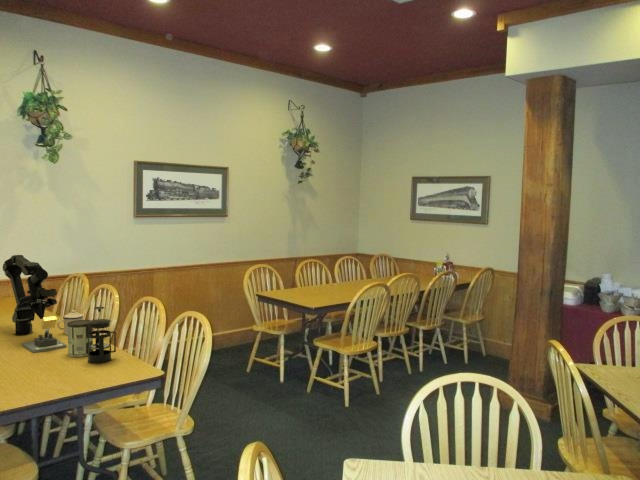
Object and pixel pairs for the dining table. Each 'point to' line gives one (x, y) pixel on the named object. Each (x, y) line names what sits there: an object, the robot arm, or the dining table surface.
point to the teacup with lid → (69, 320)
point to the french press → (100, 341)
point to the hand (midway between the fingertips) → (42, 318)
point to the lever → (48, 324)
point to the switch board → (32, 347)
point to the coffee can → (79, 338)
